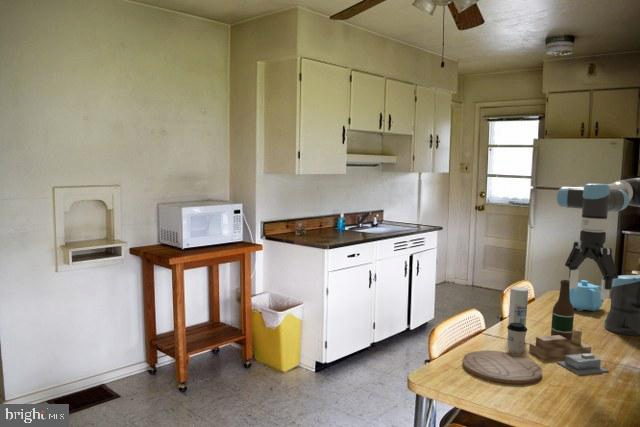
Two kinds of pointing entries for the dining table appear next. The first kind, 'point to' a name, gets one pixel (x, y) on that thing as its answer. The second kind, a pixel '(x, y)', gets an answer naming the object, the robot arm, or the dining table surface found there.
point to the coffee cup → (516, 337)
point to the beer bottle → (563, 313)
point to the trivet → (502, 367)
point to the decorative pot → (586, 297)
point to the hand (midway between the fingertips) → (588, 293)
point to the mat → (583, 370)
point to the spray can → (518, 305)
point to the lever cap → (582, 361)
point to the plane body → (559, 346)
